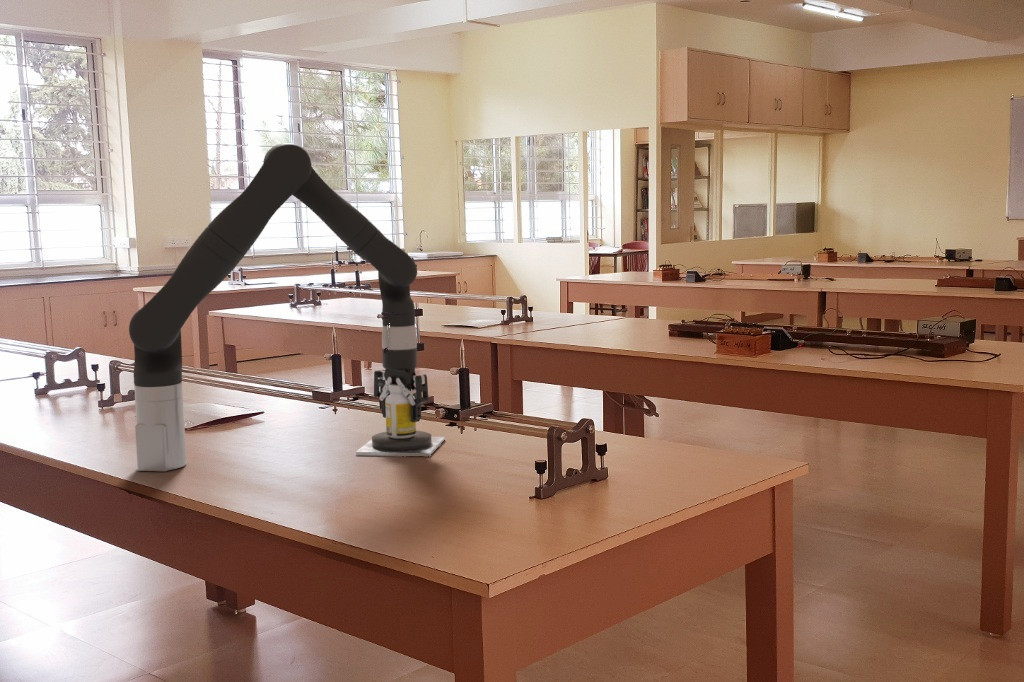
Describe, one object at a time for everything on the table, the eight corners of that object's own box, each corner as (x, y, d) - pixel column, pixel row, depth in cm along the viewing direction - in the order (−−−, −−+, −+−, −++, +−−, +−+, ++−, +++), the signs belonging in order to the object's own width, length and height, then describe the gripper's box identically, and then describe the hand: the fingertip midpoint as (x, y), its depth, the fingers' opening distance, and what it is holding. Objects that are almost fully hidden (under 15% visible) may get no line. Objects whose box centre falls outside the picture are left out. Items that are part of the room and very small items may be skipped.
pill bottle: (422, 436, 219) (421, 383, 217) (399, 441, 214) (398, 387, 213) (402, 431, 223) (401, 380, 222) (380, 436, 218) (378, 384, 217)
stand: (429, 457, 210) (429, 445, 210) (356, 455, 212) (355, 443, 212) (445, 440, 226) (444, 429, 225) (376, 438, 228) (376, 428, 228)
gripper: (435, 346, 215) (436, 420, 217) (388, 341, 223) (390, 413, 225) (411, 350, 209) (412, 426, 211) (363, 345, 218) (366, 418, 220)
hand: (401, 419), depth 218 cm, fingers open, 8 cm apart
